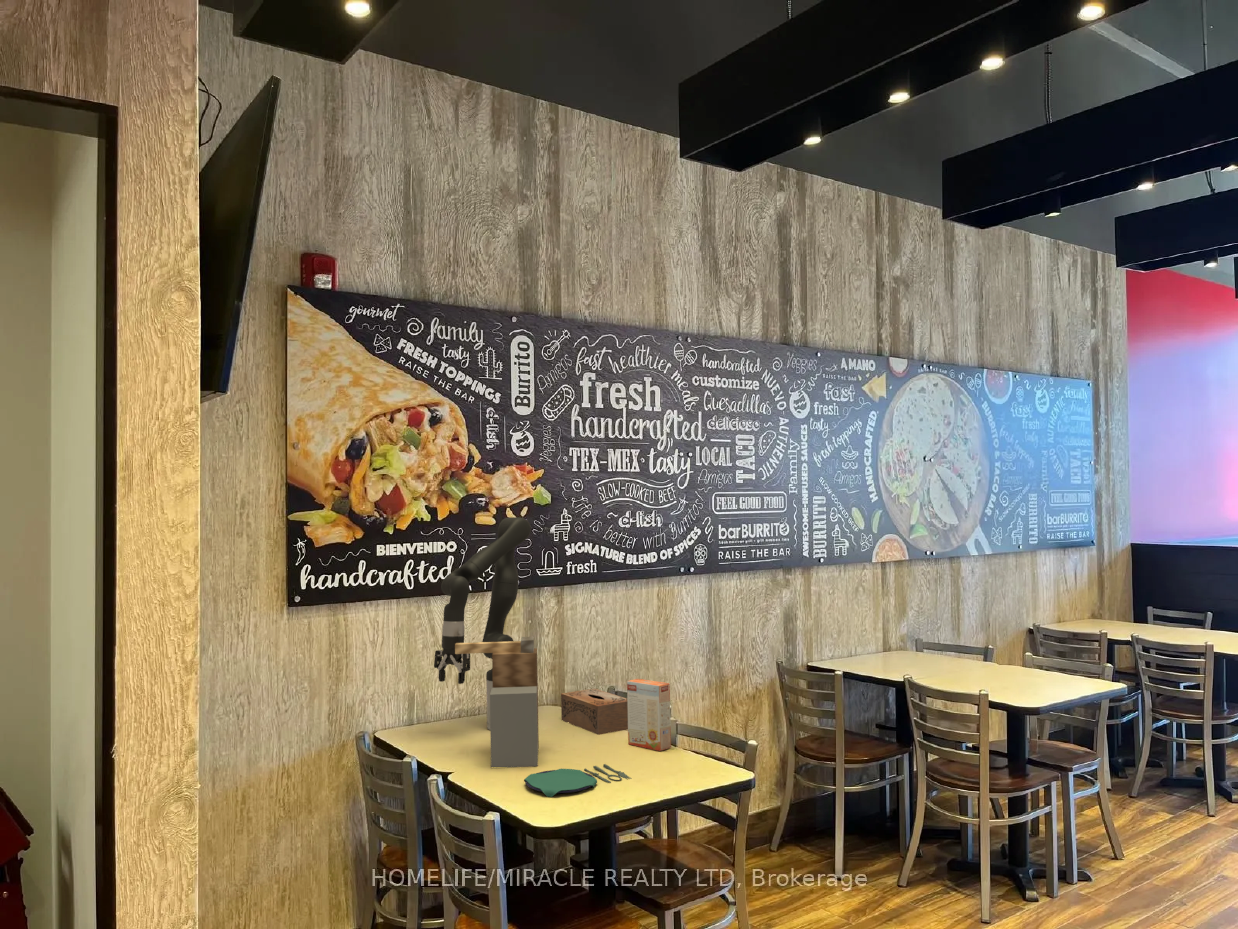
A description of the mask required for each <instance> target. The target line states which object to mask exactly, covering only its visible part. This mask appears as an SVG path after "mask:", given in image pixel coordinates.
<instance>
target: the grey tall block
mask: <svg viewBox="0 0 1238 929" xmlns="http://www.w3.org/2000/svg"><path fill="white" fill-rule="evenodd" d="M489 732H490V768H491V767H507V768H526V767H527V768H529V767H530V768H531V767H538V766H539V765H538V764H539V763H538V762H539V750H538V734H539V719H538V720H537V686H531V687H501V688H492V690H491V693H490V730H489Z"/></svg>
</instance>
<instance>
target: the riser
mask: <svg viewBox="0 0 1238 929" xmlns="http://www.w3.org/2000/svg"><path fill="white" fill-rule="evenodd" d="M491 660H492V661H491V662H492V663H491V666H492V667H491V669H492V676H493V688H501V687H531V686H537V720H538V721H539V685H538V684H539V680H538V679H539V678H538V677H539V675H538V672H539V671H538V648H537V647H534V653H521V652H503V653H493V654H492V659H491ZM539 735H540V734H539V733H538V749H539V747H540V746H539V742H540V741H539V737H540V736H539ZM539 750H540V749H539Z"/></svg>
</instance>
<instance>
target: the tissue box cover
mask: <svg viewBox="0 0 1238 929" xmlns="http://www.w3.org/2000/svg"><path fill="white" fill-rule="evenodd" d="M560 703H561V704H560V706H561V709H560V710H561V721H562V720H563V722H565V723H567V722H569V723H568V724H570V725H573V726H575V727H577V728H580V729H583V730H585V731H587V732H590V733H593V734H595V735H598V736H599V735H605V734H610V733H616V732H622V731H628V701H627V697H623V696H620V695H617V694H614V693H610V692H608V691H604V690H600V689H598V688H590V689H589V688H588V689H582V690H574V691H569V692H563V693H560Z"/></svg>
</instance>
